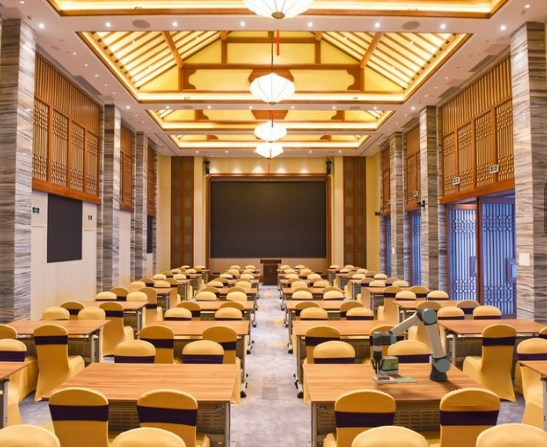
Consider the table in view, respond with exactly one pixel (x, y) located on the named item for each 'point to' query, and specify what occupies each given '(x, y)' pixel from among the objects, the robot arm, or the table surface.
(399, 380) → the mat
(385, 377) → the name block
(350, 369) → the table surface
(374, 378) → the stand
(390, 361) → the tea box
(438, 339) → the robot arm
